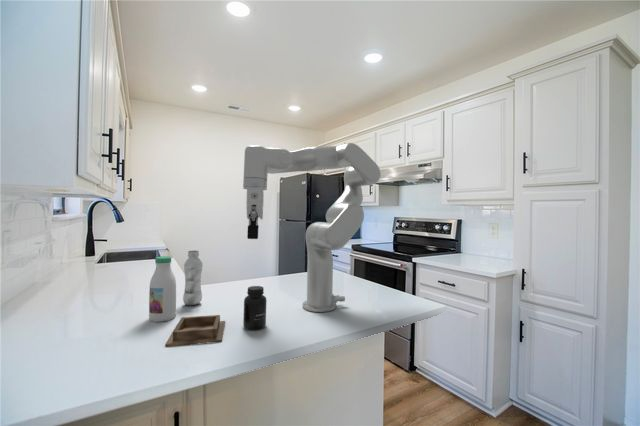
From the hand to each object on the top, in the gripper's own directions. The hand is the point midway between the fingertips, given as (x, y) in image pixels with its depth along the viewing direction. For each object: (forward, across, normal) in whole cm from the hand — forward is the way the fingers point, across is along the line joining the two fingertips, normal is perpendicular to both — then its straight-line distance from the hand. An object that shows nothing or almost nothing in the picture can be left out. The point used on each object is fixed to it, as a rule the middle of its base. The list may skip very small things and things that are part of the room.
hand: (252, 237), depth 96 cm
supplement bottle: (+27, -5, -2) cm, 28 cm away
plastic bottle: (+28, +20, +21) cm, 40 cm away
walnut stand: (+27, -8, +14) cm, 32 cm away
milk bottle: (+28, +7, +28) cm, 40 cm away
